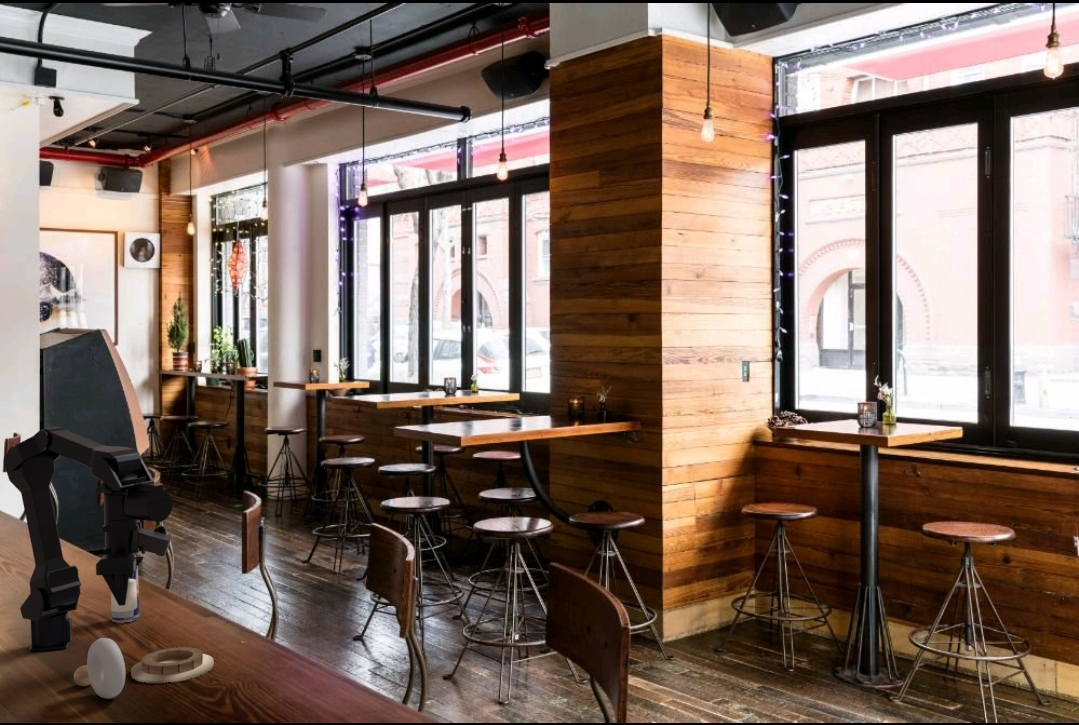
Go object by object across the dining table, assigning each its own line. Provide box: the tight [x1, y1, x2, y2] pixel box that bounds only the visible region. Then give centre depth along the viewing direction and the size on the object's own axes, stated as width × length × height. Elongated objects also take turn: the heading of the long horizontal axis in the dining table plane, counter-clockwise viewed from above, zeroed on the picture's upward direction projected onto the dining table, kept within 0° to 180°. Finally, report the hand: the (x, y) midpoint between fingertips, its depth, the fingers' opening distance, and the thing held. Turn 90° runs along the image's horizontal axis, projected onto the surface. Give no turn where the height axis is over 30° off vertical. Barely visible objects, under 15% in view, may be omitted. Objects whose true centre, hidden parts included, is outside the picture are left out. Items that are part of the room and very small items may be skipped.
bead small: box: [73, 664, 91, 687], centre depth 177 cm, size 4×4×4 cm
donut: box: [86, 637, 126, 700], centre depth 171 cm, size 10×4×10 cm, turn 46°
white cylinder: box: [110, 579, 137, 612], centre depth 190 cm, size 4×4×5 cm
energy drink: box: [111, 566, 140, 624], centre depth 216 cm, size 5×5×12 cm
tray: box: [130, 646, 215, 684], centre depth 185 cm, size 14×14×2 cm
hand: (124, 601), depth 190 cm, fingers closed on white cylinder, 4 cm apart
